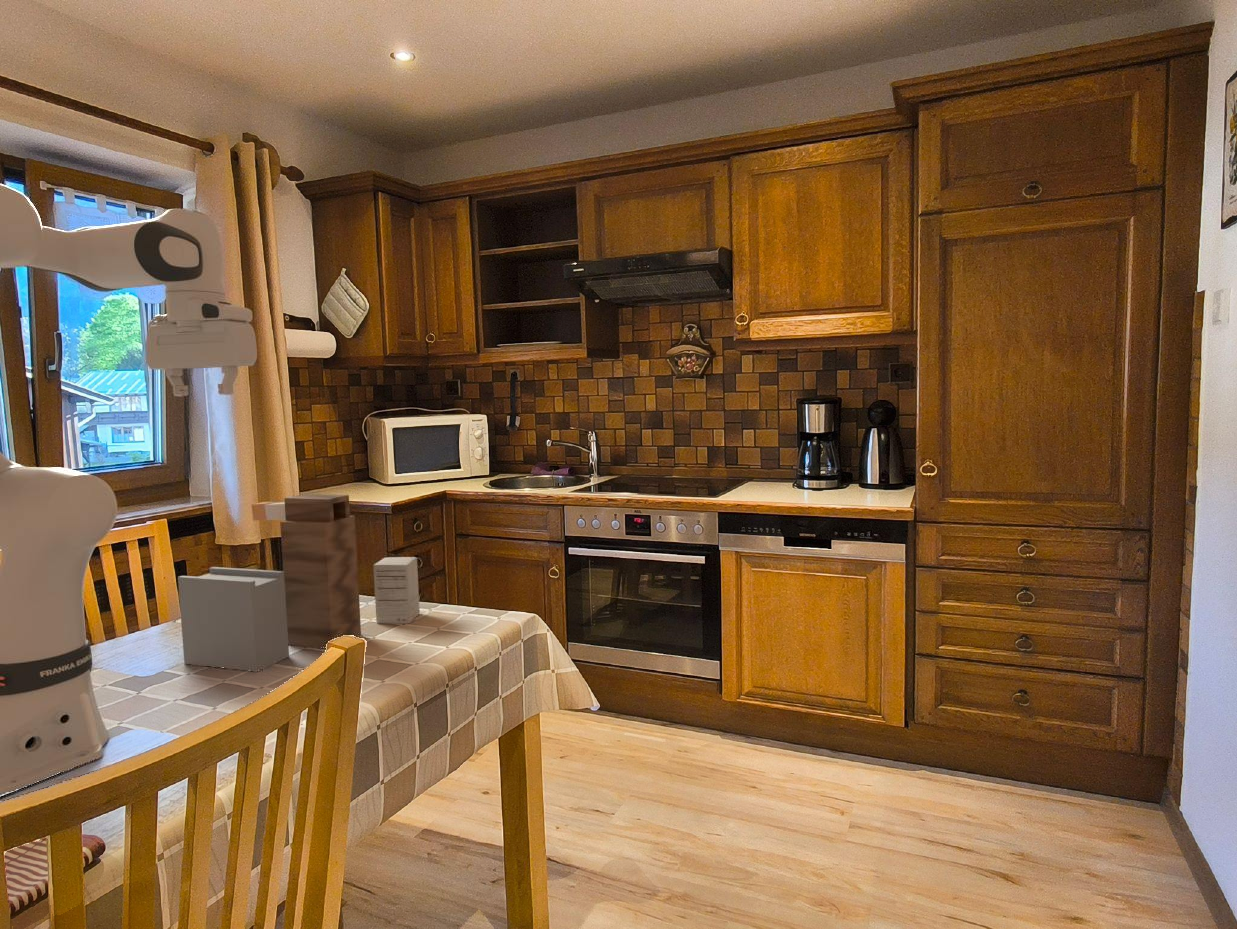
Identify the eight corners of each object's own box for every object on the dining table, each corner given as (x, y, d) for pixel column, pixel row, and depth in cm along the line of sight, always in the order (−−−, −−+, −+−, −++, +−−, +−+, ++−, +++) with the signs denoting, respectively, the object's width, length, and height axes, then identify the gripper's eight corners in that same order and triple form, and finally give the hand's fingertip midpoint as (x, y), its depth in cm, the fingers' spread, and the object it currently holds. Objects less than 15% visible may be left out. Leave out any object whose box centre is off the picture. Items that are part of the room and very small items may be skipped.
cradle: (256, 672, 134) (250, 581, 132) (184, 664, 139) (177, 577, 137) (289, 656, 142) (283, 571, 140) (219, 649, 146) (213, 566, 145)
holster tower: (331, 649, 145) (323, 500, 142) (287, 645, 148) (278, 499, 145) (361, 634, 154) (353, 494, 151) (319, 630, 157) (311, 492, 154)
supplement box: (387, 613, 168) (384, 556, 167) (420, 613, 168) (418, 556, 167) (375, 623, 161) (372, 564, 160) (410, 623, 161) (407, 564, 159)
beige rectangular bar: (312, 518, 147) (310, 501, 147) (253, 520, 151) (251, 504, 151) (323, 515, 150) (321, 499, 150) (265, 517, 154) (263, 502, 154)
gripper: (132, 314, 129) (139, 397, 130) (231, 306, 123) (237, 394, 124) (164, 317, 135) (170, 396, 136) (260, 310, 129) (266, 393, 130)
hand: (203, 395), depth 130 cm, fingers open, 8 cm apart
